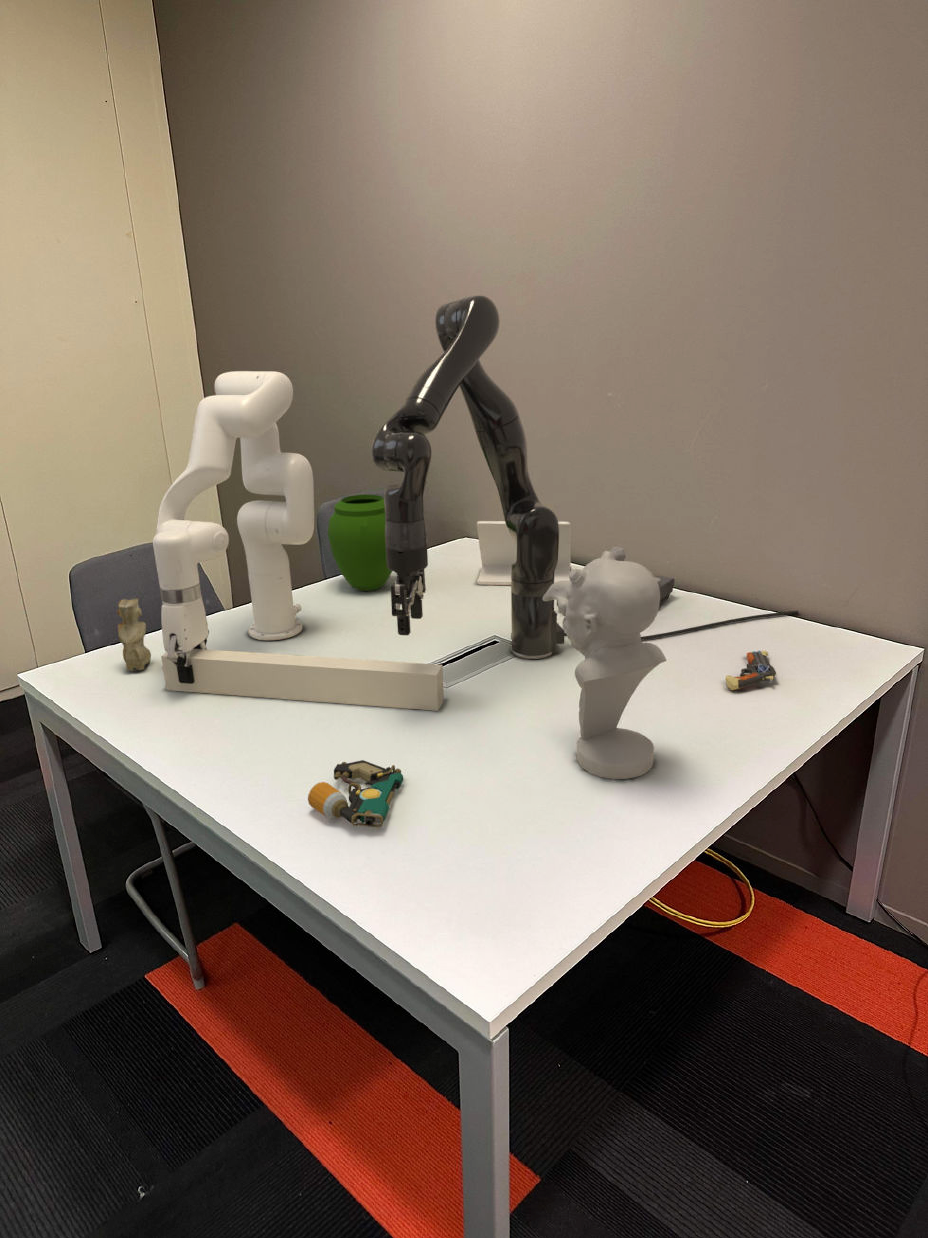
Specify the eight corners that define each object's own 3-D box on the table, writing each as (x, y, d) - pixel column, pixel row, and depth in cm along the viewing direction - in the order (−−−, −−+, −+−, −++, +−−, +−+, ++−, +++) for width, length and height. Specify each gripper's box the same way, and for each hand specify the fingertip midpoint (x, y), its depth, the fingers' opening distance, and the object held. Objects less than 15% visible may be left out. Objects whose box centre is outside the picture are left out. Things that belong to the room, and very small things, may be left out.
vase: (418, 582, 236) (413, 495, 227) (374, 603, 220) (368, 510, 212) (362, 572, 246) (356, 488, 237) (317, 591, 230) (309, 503, 222)
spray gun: (349, 769, 144) (428, 790, 138) (290, 816, 130) (376, 841, 124) (349, 746, 143) (429, 767, 137) (289, 791, 128) (375, 816, 122)
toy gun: (727, 680, 165) (782, 677, 163) (718, 649, 183) (767, 646, 181) (728, 693, 166) (782, 690, 164) (719, 661, 184) (767, 658, 182)
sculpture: (156, 659, 189) (146, 595, 184) (147, 672, 183) (135, 606, 177) (130, 660, 189) (118, 596, 184) (119, 673, 182) (107, 608, 177)
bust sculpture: (592, 709, 161) (598, 528, 148) (680, 765, 141) (694, 562, 128) (520, 730, 154) (519, 542, 141) (601, 792, 134) (608, 580, 121)
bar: (444, 700, 167) (442, 664, 164) (438, 711, 162) (436, 674, 160) (178, 680, 179) (173, 647, 176) (166, 690, 174) (160, 656, 172)
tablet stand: (569, 585, 229) (570, 524, 223) (476, 584, 232) (475, 523, 226) (570, 566, 246) (571, 508, 240) (484, 564, 249) (483, 507, 243)
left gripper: (186, 579, 177) (198, 659, 183) (139, 606, 161) (154, 693, 168) (219, 580, 175) (230, 662, 182) (175, 608, 160) (189, 696, 166)
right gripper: (397, 531, 161) (402, 612, 167) (374, 552, 148) (379, 639, 154) (436, 533, 160) (439, 614, 166) (415, 554, 147) (419, 641, 153)
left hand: (193, 676), depth 175 cm, fingers closed on bar, 4 cm apart
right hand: (410, 626), depth 160 cm, fingers open, 8 cm apart
